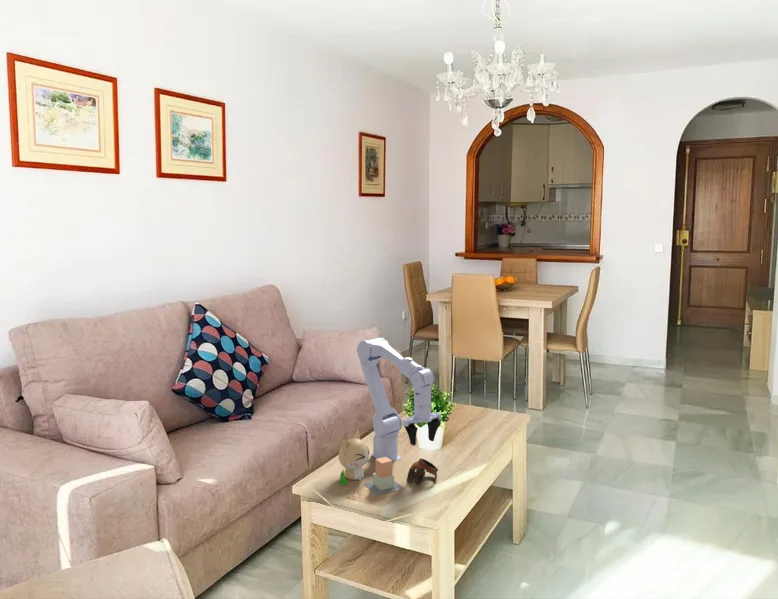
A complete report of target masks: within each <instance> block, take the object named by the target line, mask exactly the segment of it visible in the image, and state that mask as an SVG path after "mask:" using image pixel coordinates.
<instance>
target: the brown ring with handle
mask: <svg viewBox="0 0 778 599" xmlns="http://www.w3.org/2000/svg"><path fill="white" fill-rule="evenodd" d="M438 471H439V469H438V467H437V466H435V465H434V464H433V463H432V462H429V461H428V460H426V459H424V458H419V459H418V460H417V461H416V462H413V463H412V464H411V466H410V467H409V469H408V472H407V478H406V481H407V482H409V483H411V484H413V483H415V484H417V485H420V484H421V483H422V481H423V479H424V477H425V476H426V473H429V474H430V475H431V474H432V475H433V476H434V479H433V482H434V483H436V481H437V479H438Z"/></svg>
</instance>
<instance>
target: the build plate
mask: <svg viewBox="0 0 778 599" xmlns="http://www.w3.org/2000/svg"><path fill="white" fill-rule="evenodd" d="M362 485H363V486H365V487H366V488H368V489H369V490H370V491H371V492H373V493H374V494H376V495H377V496H382V495H385V494H389V493H392V492H396V491H400V490H404V489H405V487H403V485H401V484H400V483H398V482H396V481H395V480H394V487H392V488H389V489H385V490H379V489H378V488H377V487H375V486H374V485H373V480H372V481H369V482H364V483H362Z"/></svg>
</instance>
